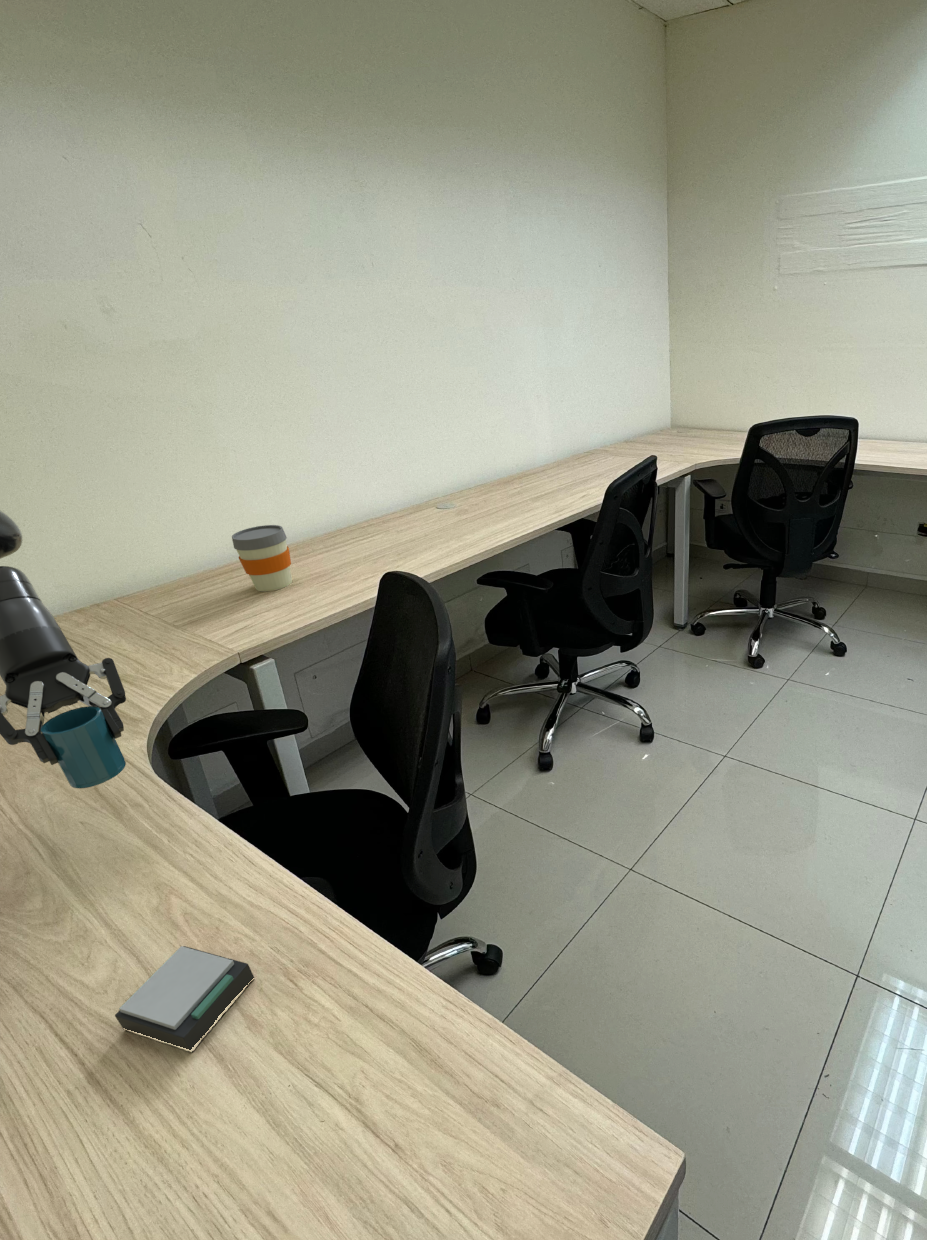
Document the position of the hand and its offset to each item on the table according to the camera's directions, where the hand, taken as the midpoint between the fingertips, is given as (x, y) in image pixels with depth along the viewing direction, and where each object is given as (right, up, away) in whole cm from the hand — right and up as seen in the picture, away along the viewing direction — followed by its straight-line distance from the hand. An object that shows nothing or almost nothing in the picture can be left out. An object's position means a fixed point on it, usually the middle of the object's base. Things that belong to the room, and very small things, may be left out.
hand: (87, 748), depth 82 cm
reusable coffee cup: (-28, +24, +93) cm, 100 cm away
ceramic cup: (-1, -4, +3) cm, 5 cm away
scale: (+23, -24, -14) cm, 36 cm away
